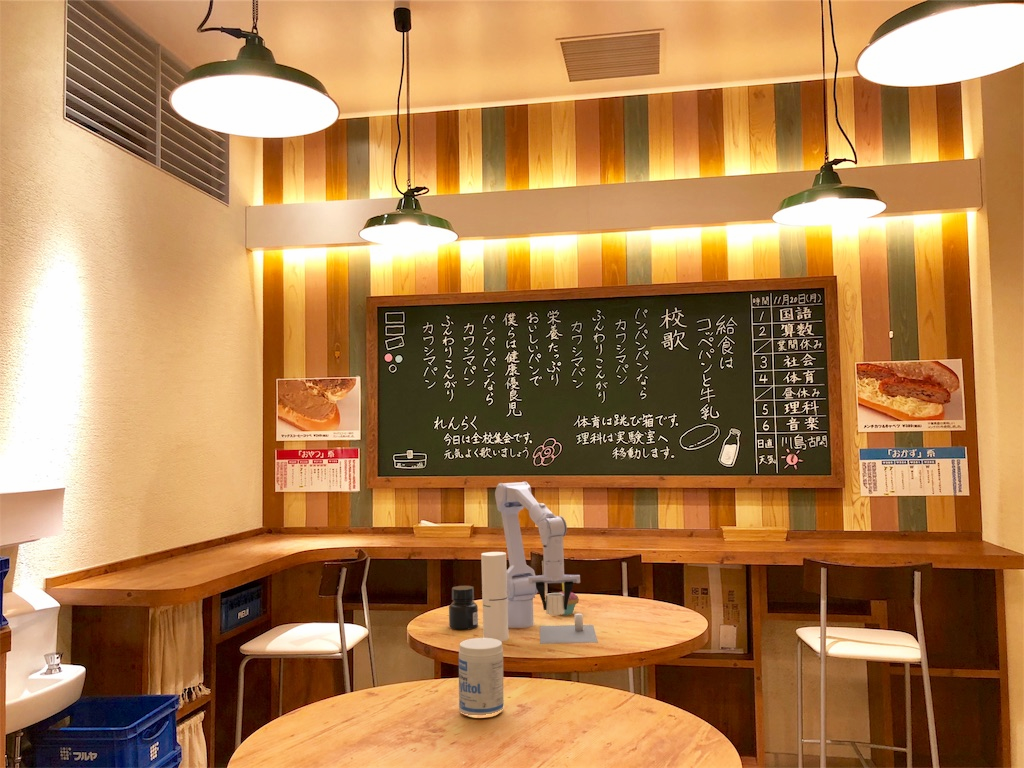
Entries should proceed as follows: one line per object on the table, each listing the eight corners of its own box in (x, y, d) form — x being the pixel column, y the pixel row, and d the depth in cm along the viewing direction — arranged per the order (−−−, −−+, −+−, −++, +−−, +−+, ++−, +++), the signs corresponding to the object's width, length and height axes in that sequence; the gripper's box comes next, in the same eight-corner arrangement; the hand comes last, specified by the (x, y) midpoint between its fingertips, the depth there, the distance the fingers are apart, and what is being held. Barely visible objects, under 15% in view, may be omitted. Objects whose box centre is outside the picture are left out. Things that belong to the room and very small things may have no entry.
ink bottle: (482, 628, 246) (481, 589, 247) (454, 632, 243) (453, 591, 243) (472, 622, 255) (471, 583, 256) (445, 625, 252) (444, 586, 252)
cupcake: (548, 612, 265) (547, 575, 266) (571, 609, 268) (569, 573, 269) (560, 617, 257) (559, 579, 258) (583, 614, 261) (582, 577, 261)
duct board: (540, 647, 223) (539, 626, 223) (540, 629, 243) (539, 610, 243) (598, 645, 223) (597, 625, 223) (593, 628, 243) (592, 609, 243)
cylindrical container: (505, 646, 225) (503, 555, 227) (480, 645, 227) (478, 555, 228) (510, 639, 232) (508, 551, 234) (486, 638, 234) (484, 551, 235)
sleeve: (546, 615, 225) (545, 596, 225) (546, 610, 230) (545, 593, 231) (564, 614, 225) (564, 596, 225) (564, 610, 230) (563, 592, 230)
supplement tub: (451, 717, 170) (449, 646, 171) (472, 703, 179) (470, 635, 180) (492, 723, 166) (490, 650, 167) (511, 708, 175) (509, 639, 176)
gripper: (527, 563, 225) (529, 612, 224) (580, 562, 224) (581, 611, 223) (528, 559, 232) (529, 607, 231) (578, 558, 231) (580, 606, 230)
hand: (555, 609), depth 228 cm, fingers closed on sleeve, 5 cm apart
